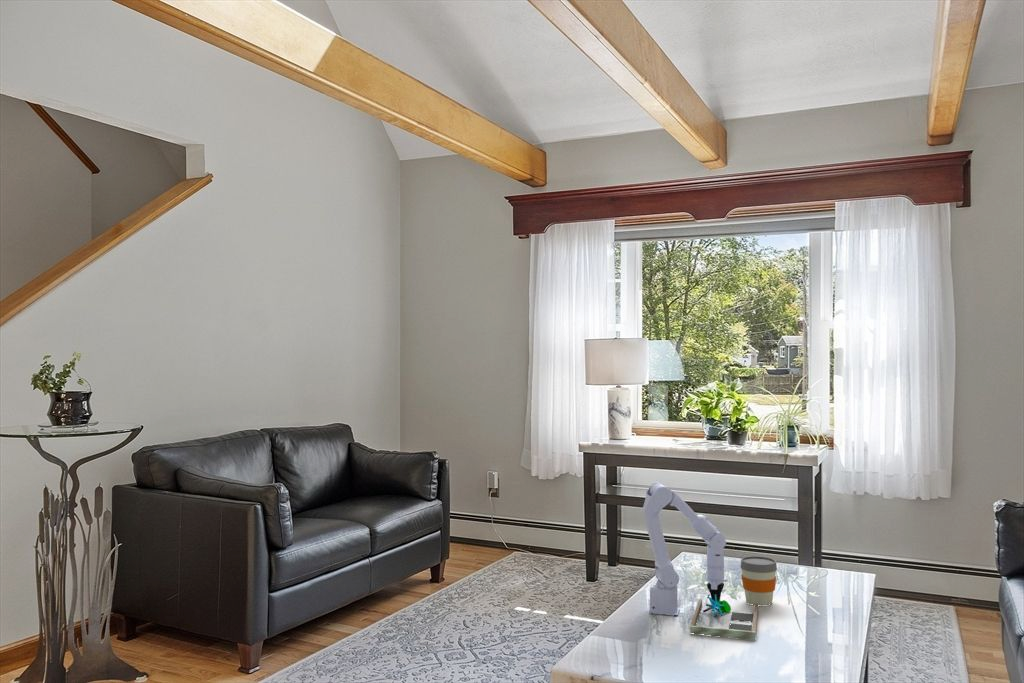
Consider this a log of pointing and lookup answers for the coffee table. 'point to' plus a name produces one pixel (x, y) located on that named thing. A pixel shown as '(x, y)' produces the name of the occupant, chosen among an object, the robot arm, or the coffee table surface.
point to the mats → (741, 618)
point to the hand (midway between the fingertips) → (715, 604)
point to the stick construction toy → (718, 606)
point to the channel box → (721, 631)
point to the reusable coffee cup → (758, 579)
